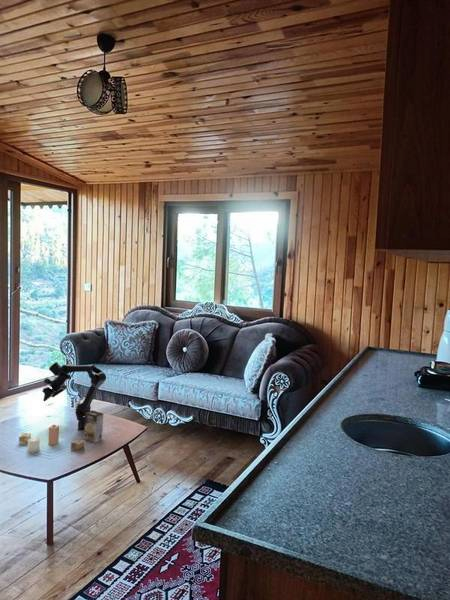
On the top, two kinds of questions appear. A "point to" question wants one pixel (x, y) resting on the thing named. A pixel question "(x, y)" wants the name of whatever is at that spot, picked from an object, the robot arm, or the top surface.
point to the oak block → (24, 438)
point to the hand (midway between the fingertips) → (48, 399)
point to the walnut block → (77, 445)
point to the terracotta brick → (53, 435)
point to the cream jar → (33, 445)
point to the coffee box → (93, 426)
